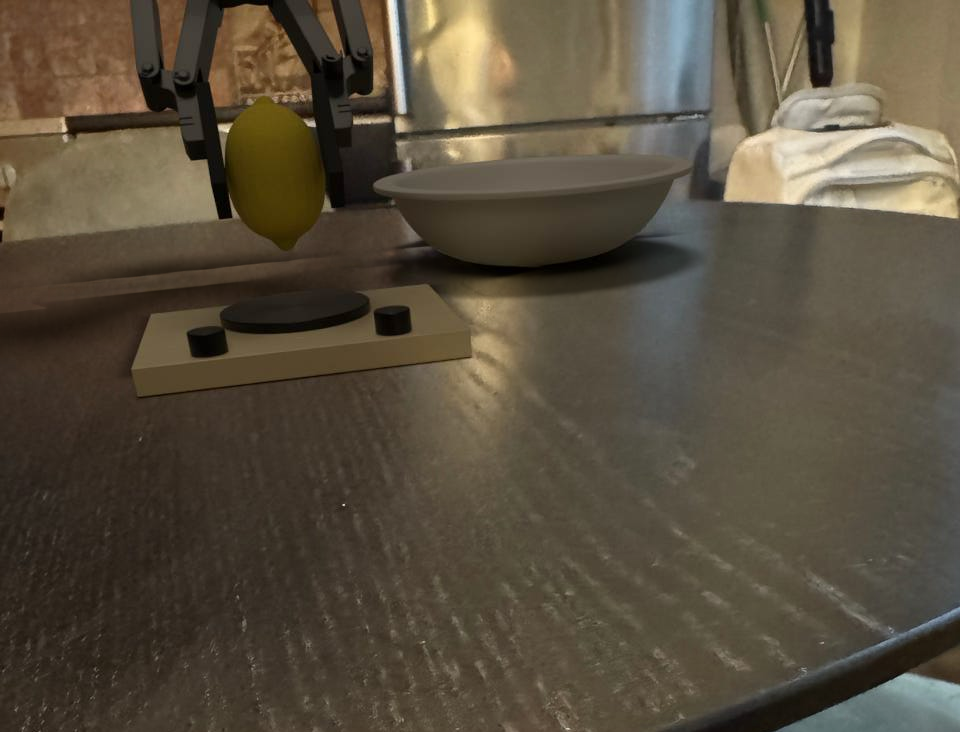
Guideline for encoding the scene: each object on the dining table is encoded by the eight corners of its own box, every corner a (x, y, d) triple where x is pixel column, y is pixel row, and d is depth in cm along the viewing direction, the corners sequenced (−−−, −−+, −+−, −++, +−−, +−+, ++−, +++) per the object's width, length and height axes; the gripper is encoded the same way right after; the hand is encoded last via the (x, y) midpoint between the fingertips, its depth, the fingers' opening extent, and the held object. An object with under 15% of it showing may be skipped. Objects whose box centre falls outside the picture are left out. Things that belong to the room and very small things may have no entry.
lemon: (270, 263, 54) (243, 98, 50) (222, 254, 58) (193, 100, 54) (352, 247, 57) (333, 90, 53) (301, 240, 61) (280, 93, 57)
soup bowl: (688, 290, 65) (692, 182, 62) (343, 300, 70) (330, 199, 67) (690, 232, 86) (694, 147, 82) (422, 242, 90) (415, 163, 87)
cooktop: (156, 337, 64) (146, 294, 62) (429, 306, 66) (426, 264, 65) (137, 397, 52) (125, 345, 50) (472, 356, 55) (468, 306, 53)
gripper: (39, -194, 54) (82, 161, 48) (376, -207, 56) (453, 127, 51) (79, -63, 61) (120, 259, 55) (376, -80, 64) (444, 225, 58)
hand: (280, 195), depth 53 cm, fingers closed on lemon, 5 cm apart
